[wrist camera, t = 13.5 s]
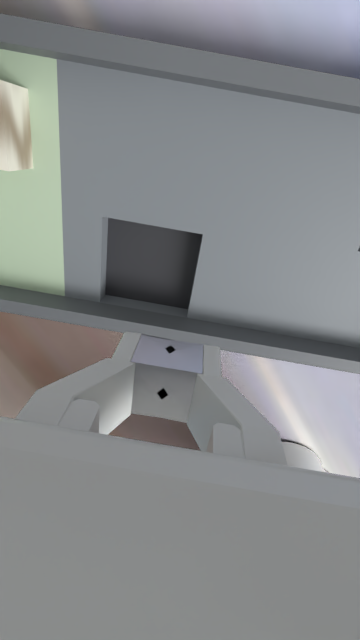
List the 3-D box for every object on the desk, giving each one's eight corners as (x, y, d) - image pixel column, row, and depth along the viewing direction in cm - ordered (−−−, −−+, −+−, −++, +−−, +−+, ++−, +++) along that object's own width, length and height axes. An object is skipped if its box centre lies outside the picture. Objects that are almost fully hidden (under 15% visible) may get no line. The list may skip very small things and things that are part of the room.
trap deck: (401, 356, 38) (435, 392, 32) (-32, 280, 37) (-75, 303, 32) (546, 130, 26) (639, 126, 20) (-86, 15, 26) (-169, -22, 20)
